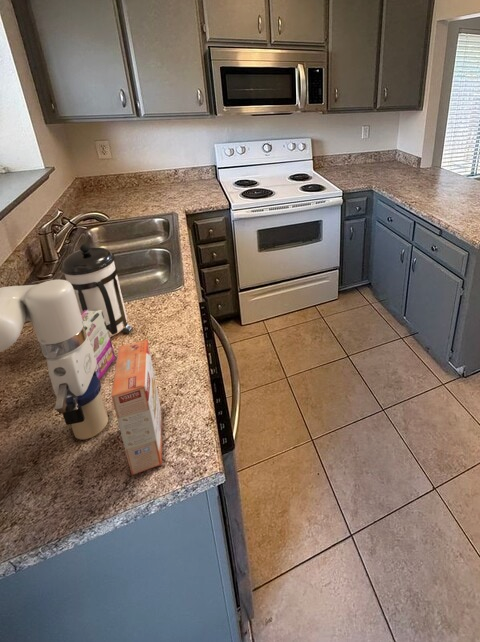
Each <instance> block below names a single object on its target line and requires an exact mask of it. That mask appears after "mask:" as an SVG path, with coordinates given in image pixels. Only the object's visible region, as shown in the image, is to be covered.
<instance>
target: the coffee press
mask: <svg viewBox="0 0 480 642" xmlns="http://www.w3.org/2000/svg"><path fill="white" fill-rule="evenodd" d="M115 259H116V257H115V254H114V253H113V252H111V251H110V250H109V249H108V248H106V247H99V246H93V247H91V245H89V244H86V243H84V244H81V245H80V247H79V250H76V251H73V252H72V253H70V254H69V255H67V257H65V258H64V260H63V262H62V264H61V266H60V269H61V272H62V273H63V274H64V280H66V281H68V282H70V283H71V285H72V286H73V289H74V292H75V296H76V299H77V303H78V306H79V310H80V313H82V312H83V311H84V310H102V312H103V316H104V319H105V323H106V326H107V330H108V333H109V337H110V338H112V337H114V336H115V335H117V334H119V333H120V332H123V333H125V334H127V335H128V334H130V333H131V332H132V331H133V327H131V326H130V325H129V324H128V315H127V311H126V307H125V303H124V302H125V301H124V298H123V294H122V290H121V286H120V282H119V281H120V280H119V277H118V269H117V265H115Z"/></svg>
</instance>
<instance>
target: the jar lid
mask: <svg viewBox="0 0 480 642" xmlns="http://www.w3.org/2000/svg"><path fill="white" fill-rule="evenodd" d="M100 380H101V379H100ZM100 380H99V379H98V377H96V376H94V375H93V376H92V379H91V381H90V383H89V386H88V388H87V390H86V392H85V393H84V394H83V395H80V396H79V399H78V405H81V406H84V405H86V404H88V403H89V402H91V401H92V400H93V399H94V398H95V397H96V396H97V395H98V394H99V392H100V391H101V389H102V385H101V381H100ZM68 394H73V393H72V392H71V391H70V390H69V391H68ZM68 394H67V395H68ZM66 403H67V405H71V404H73V397H70V398H67V399H66Z"/></svg>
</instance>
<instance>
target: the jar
mask: <svg viewBox="0 0 480 642" xmlns="http://www.w3.org/2000/svg"><path fill="white" fill-rule="evenodd" d="M81 408H82V411H83V414H84V417H85V419H84V421H83V422H80V423H75V424H71V425H70V427H71V430H72V432H73V433H72V434H73V435H74V437H75V438H76V439H77V440H87V439H91V438H93V437H96V436H97V435H98V434H100V433H101V432H102V431H103V430H104V429H105V428H106V427H107V425H108V423H109V416H108V412H107V409H106V405H105V402H104V399H103V395H102V391H101V390H100V392H99V394H98V395H97V396H96V397H95V398H94V399H93V400H92V401H91V402H89V403H88V404H86V405H84V406H81Z"/></svg>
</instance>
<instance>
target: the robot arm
mask: <svg viewBox="0 0 480 642" xmlns="http://www.w3.org/2000/svg"><path fill="white" fill-rule="evenodd" d="M29 321H30V322H31V324H32V327H33V330H34V333H35V336H36V339H37V341H38V344H39V347H40V350H41V353H42V356H43V357H44V358H46V364H47V371H48V375H49V379H50V384H51V387H52V390H53V391H54V392H53V393H54V395H55V397H56V401H55V406H54V410H55V411H56V412H58V414H62V416H63V419H64V422H65V425H66V426H71V424H75V423H80V422H83V421H84V419H85V417H84V414H83V411H82V408H81V405H78V399H79V396H80V395H83V394H84V393H85V392H86V390H87V388H88V386H89V383H90V381H91V379H92V376H93V375H94V376H96V377H97V375H96V372H95V368H96V365H97V360H96V357H95V354H94V351H93V348H92V345H91V343H90V340H89V338H88V336H87V335H86V331H85V327H84V324H83V320H82V317H81V313H80V310H79V306H78V303H77V299H76V296H75V292H74V289H73V286H72V285H71V283H70V282H68V281H66V280H65V279H50V280H46V281H44V282H40V283H38V284H26V285H10V286H2V287H0V353H2V352H5V351H6V350H8V349H9V348H11V347H12V346H13V345H14V344H15V343H16V342H17V340H18V339H19V338H20V335H21V334H22V331H23V328H24V325H25V323H27V322H29ZM69 390H70V391H71V392H72V393H73V394H68V391H69ZM67 394H68V395H67ZM70 397H73V404H71V405H67V403H66V399H67V398H70Z"/></svg>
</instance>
